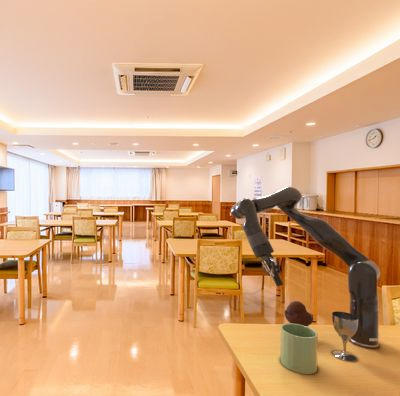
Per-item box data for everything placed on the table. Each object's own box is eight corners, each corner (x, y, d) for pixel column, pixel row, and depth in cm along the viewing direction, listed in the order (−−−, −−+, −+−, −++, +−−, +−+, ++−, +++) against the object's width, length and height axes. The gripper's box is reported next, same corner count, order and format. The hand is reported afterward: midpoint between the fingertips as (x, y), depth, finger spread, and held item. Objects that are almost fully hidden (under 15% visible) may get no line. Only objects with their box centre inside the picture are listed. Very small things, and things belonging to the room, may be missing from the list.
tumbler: (278, 353, 108) (278, 321, 108) (312, 358, 105) (312, 325, 105) (283, 370, 98) (283, 335, 98) (321, 376, 94) (321, 340, 94)
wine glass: (335, 359, 105) (335, 318, 105) (329, 348, 112) (329, 310, 112) (361, 363, 102) (362, 321, 102) (353, 352, 109) (353, 313, 109)
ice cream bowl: (318, 343, 116) (318, 306, 116) (288, 340, 118) (288, 304, 118) (308, 331, 126) (308, 297, 126) (280, 329, 128) (280, 295, 128)
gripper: (246, 250, 126) (265, 289, 119) (256, 243, 113) (277, 287, 107) (262, 244, 126) (282, 283, 120) (274, 237, 114) (296, 281, 107)
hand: (280, 285), depth 113 cm, fingers closed
